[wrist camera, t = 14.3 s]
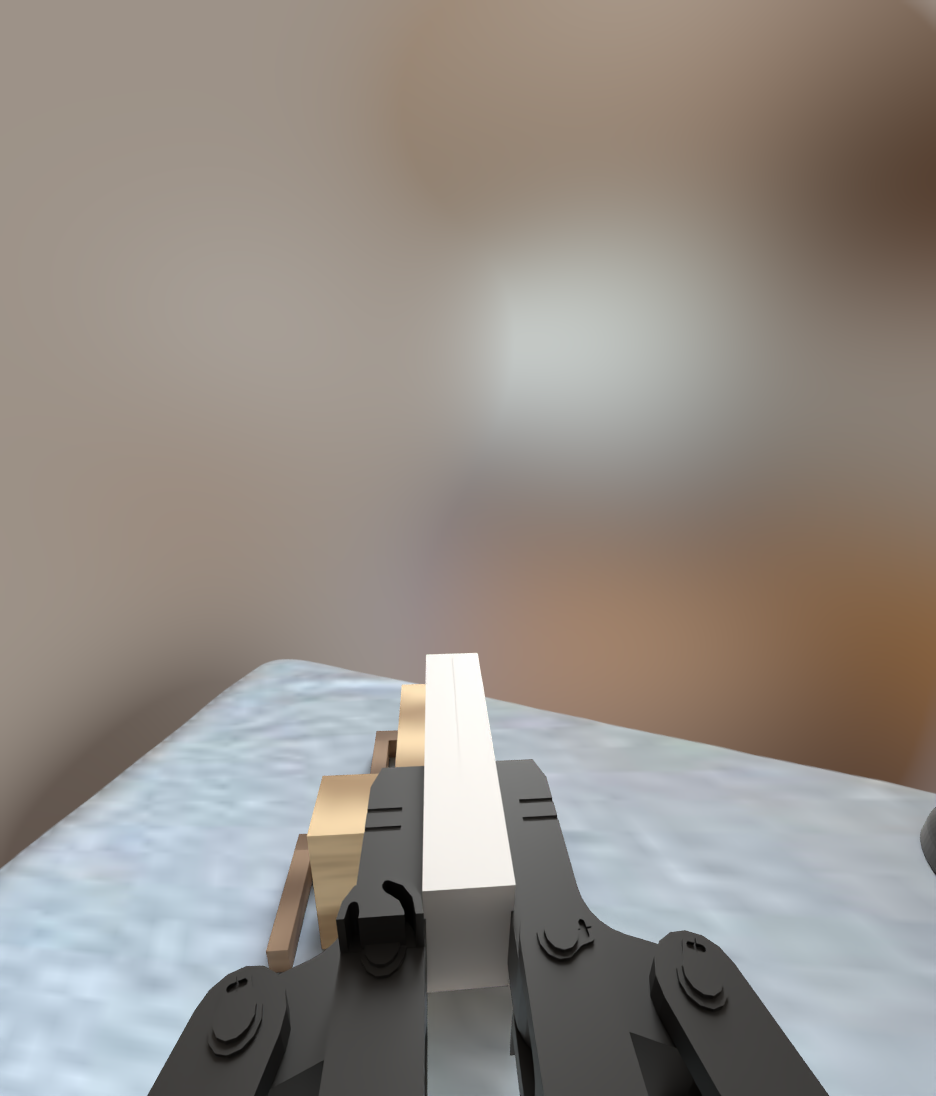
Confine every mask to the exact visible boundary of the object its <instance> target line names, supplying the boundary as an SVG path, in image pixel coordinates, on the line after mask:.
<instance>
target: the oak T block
mask: <svg viewBox="0 0 936 1096" xmlns="http://www.w3.org/2000/svg"><path fill="white" fill-rule="evenodd" d="M425 699H426V684H412V685H402V690H401V702H400V714H399V726H398V738H397V750H396V762H395V767H410V766H424V760H425ZM377 776H378V774H358V775H335V776H323V777H322V781H321V784H320V788H319V792H318V796H317V800H316V803H315V807H314V811H313V815H312V819H311V823H310V826H309V830H308V834H307V841H308V848H309V856H310V863H311V871H312V878H313V886H314V894H315V901H316V909H317V916H318V924H319V931H320V939H321V946H322V949H327V948H328V947H329V946H331V945H332V944H333V943H334V942H335V941H336V939H337V938H338V932H337V925H336V918H337V915H338V912H339V909H340V906H341V903H342V901H343V900H344V898H345V897H346V896H347V895H348V893H349V892H350V891H351V889H352V888H353V887H354V886H355V885H356V884H357V877H358V870H359V864H360V857H361V850H362V843H363V836H364V832H365V822H366V815H367V808H368V801H369V794H370V787H371V786H372V784H373V782H374V781H375V779H376V777H377Z"/></svg>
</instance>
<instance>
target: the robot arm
mask: <svg viewBox="0 0 936 1096" xmlns="http://www.w3.org/2000/svg"><path fill="white" fill-rule="evenodd" d="M920 842H921V846H922V850H923V852H924V855H925V857H926V859H927V861H928V862H929V864H930V866H931V867H932V869H933V870H934V872H935V873H936V807H935V808H934V809H933V810H932V811H931V813H930V814H929V816H928V818H927V820H926V822H925V824H924V826H923V828H922V830H921V833H920ZM336 925H337V932H338V938H337V939H336V941H335V942H334V943H333V944H332V945H331V946H329V947H328V948H327V949H326V950H325V951H324V952H323V953H321V954H319V955H318V956H316V957H314V958H312V959H311V960H309V961H307V962H304V963H302V964H300V965H298V966H296V967H293V968H291V969H289V970H287V971H285V972H283V973H280V974H277V973H276V972H274V971H272V970H270V969H268V968H267V967H265V966H246V967H244V968H241V969H239V970H237V971H235V972H232V973H230V974H228V975H227V976H225V977H224V978H223V979H222V980H221V981H220V982H218V983H217V984H216V985H215V986H214V987H212V988H211V989H210V990H209V991H208V993H207V994H206V996H205V997H204V998H203V1000H202V1001H201V1003H200V1004H199V1005H198V1007H197V1008H196V1009H195V1011H194V1013H193V1014H192V1016H191V1018H190V1020H189V1022H188V1023H187V1025H186V1027H185V1029H184V1031H183V1032H182V1034H181V1036H180V1038H179V1040H178V1041H177V1043H176V1045H175V1047H174V1049H173V1050H172V1052H171V1054H170V1056H169V1058H168V1059H167V1061H166V1063H165V1065H164V1067H163V1068H162V1070H161V1072H160V1074H159V1076H158V1077H157V1079H156V1081H155V1083H154V1085H153V1086H152V1088H151V1090H150V1092H149V1094H148V1095H147V1096H427V1050H428V1038H427V993H430V992H442V991H454V990H465V989H477V988H489V987H501V986H508V980H510V988H511V995H512V1003H513V1015H512V1027H511V1041H510V1055H515V1058H516V1066H517V1075H518V1083H519V1091H520V1096H829V1095H828V1093H827V1092H826V1091H825V1089H824V1088H823V1086H822V1085H821V1084H820V1082H819V1081H818V1079H817V1078H816V1077H815V1075H814V1074H813V1072H812V1071H811V1070H810V1068H809V1067H808V1066H807V1064H806V1063H805V1061H804V1060H803V1059H802V1057H801V1056H800V1054H799V1053H798V1052H797V1050H796V1049H795V1047H794V1046H793V1045H792V1043H791V1042H790V1040H789V1039H788V1038H787V1036H786V1035H785V1033H784V1032H783V1031H782V1029H781V1028H780V1026H779V1025H778V1024H777V1022H776V1021H775V1019H774V1018H773V1017H772V1015H771V1014H770V1012H769V1011H768V1010H767V1008H766V1007H765V1005H764V1004H763V1003H762V1001H761V1000H760V999H759V997H758V996H757V994H756V993H755V992H754V990H753V989H752V987H751V986H750V985H749V983H748V982H747V980H746V979H745V978H744V976H743V975H742V973H741V972H740V971H739V969H738V968H737V966H736V965H735V964H734V963H733V961H732V960H731V959H730V958H729V957H728V956H727V955H726V954H725V953H724V952H723V950H722V949H721V948H720V947H719V946H717V945H716V944H714V943H713V942H711V941H710V940H708V939H707V938H705V937H704V936H702V935H699V934H695V933H692V932H689V931H685V930H684V931H677V932H670V933H669V934H668V935H666V936H665V937H664V938H663V939H661V940H660V941H659V944H656V943H653V942H649V941H646V940H643V939H640V938H636V937H633V936H630V935H626V934H623V933H621V932H619V931H616V930H614V929H612V928H610V927H609V926H607V925H606V924H604V923H603V922H601V921H600V920H599V919H598V918H597V917H596V916H595V915H594V914H593V913H592V912H591V911H590V910H589V908H588V907H587V905H586V904H585V902H584V901H583V899H582V897H581V895H580V892H579V890H578V887H577V884H576V880H575V877H574V873H573V870H572V866H571V863H570V859H569V856H568V852H567V849H566V845H565V842H564V838H563V834H562V831H561V827H560V824H559V820H558V819H557V813H556V810H555V806H554V803H553V802H552V796H551V792H550V789H549V785H548V781H547V778H546V776H545V775H544V773H543V772H542V771H541V770H540V768H539V767H538V766H537V764H536V763H535V762H534V761H533V759H528V760H507V761H495V756H494V750H493V744H492V738H491V732H490V726H489V719H488V713H487V707H486V701H485V695H484V689H483V683H482V677H481V671H480V665H479V659H478V654H477V653H466V654H465V653H464V654H431V655H426V699H425V760H424V766H410V767H389V768H382V769H381V771H380V772H379V774H378V776H377V777H376V779H375V781H374V782H373V784H372V786H371V787H370V794H369V801H368V808H367V815H366V822H365V832H364V836H363V843H362V850H361V857H360V864H359V870H358V877H357V884H356V885H355V886H354V887H353V888H352V889H351V891H350V892H349V893H348V895H347V896H346V897H345V898H344V900H343V901H342V903H341V906H340V909H339V912H338V915H337V918H336Z"/></svg>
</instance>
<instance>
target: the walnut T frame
mask: <svg viewBox="0 0 936 1096" xmlns="http://www.w3.org/2000/svg"><path fill="white" fill-rule="evenodd" d="M397 738H398V731H377V732H376V739H375V746H374V752H373V759H372V766H371V772H370V774H379V772H380V771H381V769H382V768H388V767H389V758H393V757H396V750H397ZM312 880H313V878H312V871H311V863H310V856H309V848H308V841H307V834H299V837H298V840H297V844H296V847H295V851H294V854H293V858H292V861H291V865H290V869H289V872H288V876H287V879H286V883H285V886H284V890H283V893H282V897H281V900H280V904H279V907H278V911H277V914H276V918H275V921H274V925H273V929H272V932H271V936H270V939H269V943H268V946H267V950H266V954H267V959H268V964H269V969H270V970H272V971H274V972H276V973H279V972H285V971H287V970H289V969H291V968H292V967H293V963H294V958H295V954H296V950H297V945H298V941H299V937H300V932H301V928H302V924H303V919H304V915H305V911H306V906H307V902H308V898H309V893H310V889H311V885H312Z"/></svg>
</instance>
